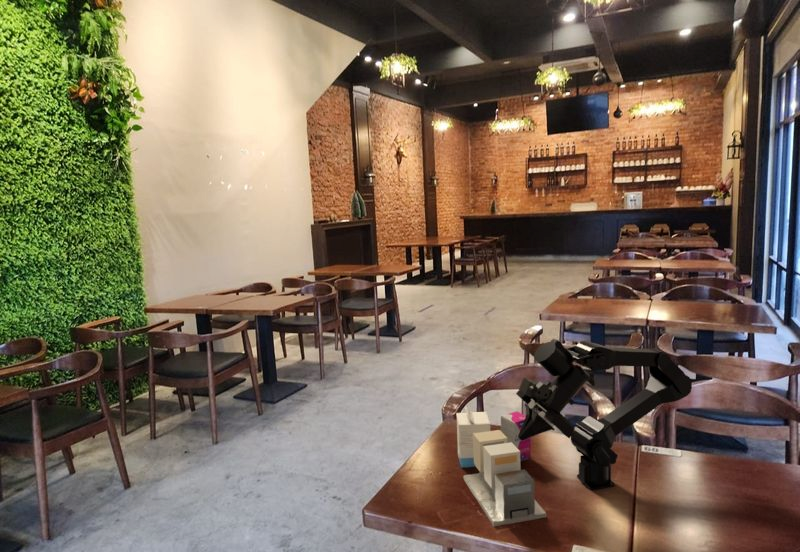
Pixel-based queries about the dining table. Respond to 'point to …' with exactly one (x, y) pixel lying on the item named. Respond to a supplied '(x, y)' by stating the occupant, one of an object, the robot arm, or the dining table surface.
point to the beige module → (485, 440)
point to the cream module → (500, 460)
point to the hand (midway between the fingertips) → (519, 438)
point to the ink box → (469, 434)
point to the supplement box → (516, 433)
